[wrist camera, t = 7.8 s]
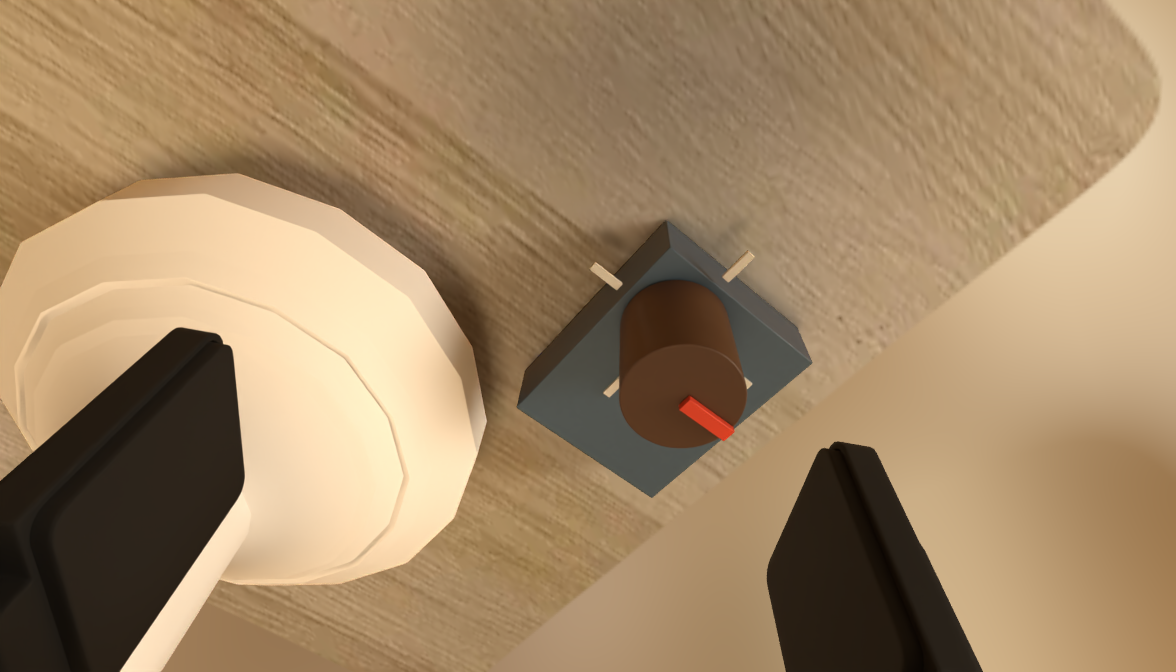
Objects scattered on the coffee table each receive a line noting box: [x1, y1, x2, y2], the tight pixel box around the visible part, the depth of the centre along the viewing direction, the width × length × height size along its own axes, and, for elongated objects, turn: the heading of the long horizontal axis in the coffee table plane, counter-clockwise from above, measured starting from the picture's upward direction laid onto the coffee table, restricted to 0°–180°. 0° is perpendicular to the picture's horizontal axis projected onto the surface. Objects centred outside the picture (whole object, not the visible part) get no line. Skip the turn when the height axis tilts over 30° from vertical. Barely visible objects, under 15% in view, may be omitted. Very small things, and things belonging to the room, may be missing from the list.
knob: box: [619, 280, 747, 448], centre depth 26 cm, size 4×4×5 cm
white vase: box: [0, 173, 487, 672], centre depth 25 cm, size 20×20×19 cm
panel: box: [517, 220, 812, 498], centre depth 30 cm, size 12×10×3 cm
